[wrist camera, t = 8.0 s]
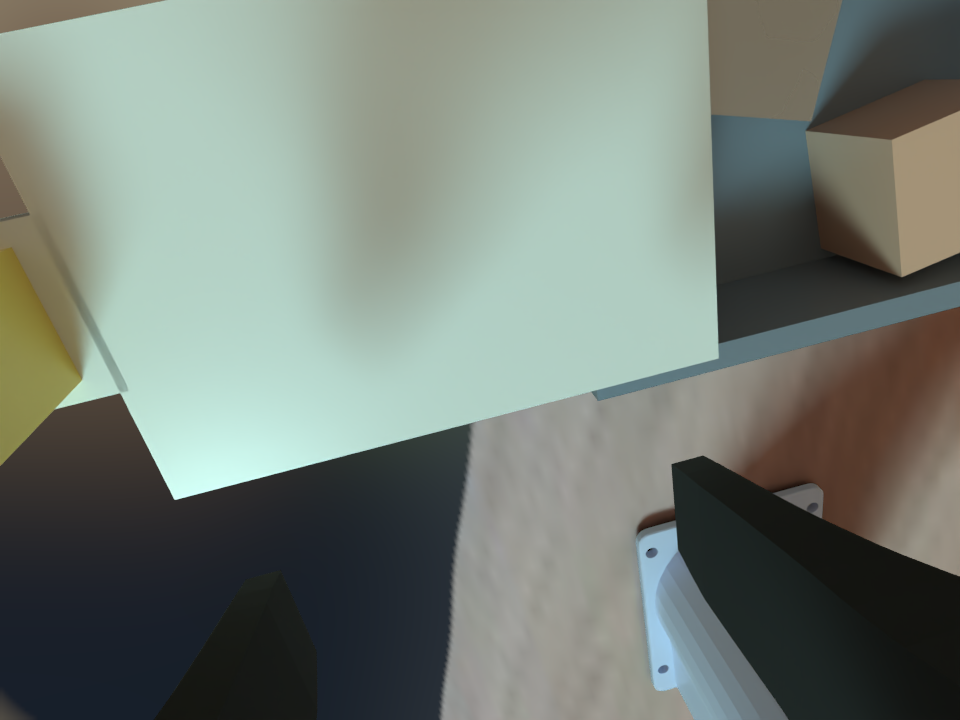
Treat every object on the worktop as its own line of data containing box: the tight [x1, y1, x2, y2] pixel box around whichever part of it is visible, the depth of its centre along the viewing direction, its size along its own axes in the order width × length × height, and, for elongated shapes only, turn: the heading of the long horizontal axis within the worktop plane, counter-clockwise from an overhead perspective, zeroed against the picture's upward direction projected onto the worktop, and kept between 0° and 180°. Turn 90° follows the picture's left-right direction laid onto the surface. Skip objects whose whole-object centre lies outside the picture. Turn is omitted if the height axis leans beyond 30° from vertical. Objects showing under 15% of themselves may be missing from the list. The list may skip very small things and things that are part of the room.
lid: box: [0, 0, 719, 500], centre depth 12 cm, size 10×17×4 cm, turn 101°
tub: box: [591, 0, 960, 401], centre depth 17 cm, size 12×16×4 cm
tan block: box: [805, 79, 960, 277], centre depth 19 cm, size 4×4×4 cm
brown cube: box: [707, 0, 842, 121], centre depth 16 cm, size 4×4×4 cm
